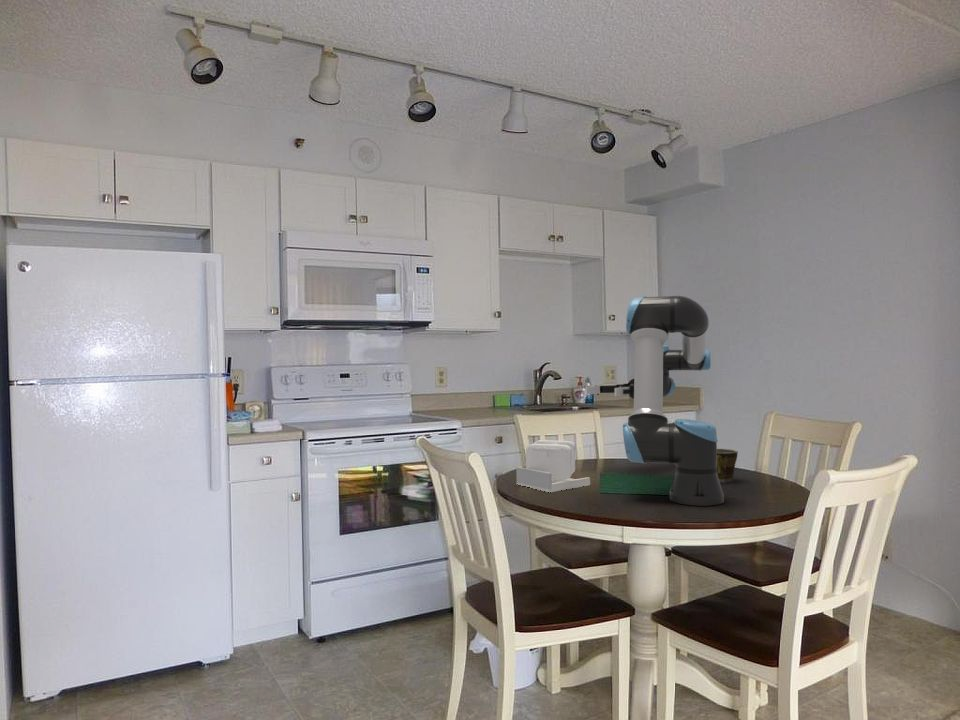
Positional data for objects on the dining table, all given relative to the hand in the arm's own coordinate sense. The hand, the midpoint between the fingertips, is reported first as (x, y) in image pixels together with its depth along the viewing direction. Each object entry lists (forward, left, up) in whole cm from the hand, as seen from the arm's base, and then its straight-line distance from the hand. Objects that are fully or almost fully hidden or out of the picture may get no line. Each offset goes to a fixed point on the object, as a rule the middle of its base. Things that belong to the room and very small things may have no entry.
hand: (600, 391), depth 238 cm
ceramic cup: (-30, -25, -30) cm, 50 cm away
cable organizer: (+2, +21, -28) cm, 35 cm away
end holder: (+2, +21, -30) cm, 37 cm away
